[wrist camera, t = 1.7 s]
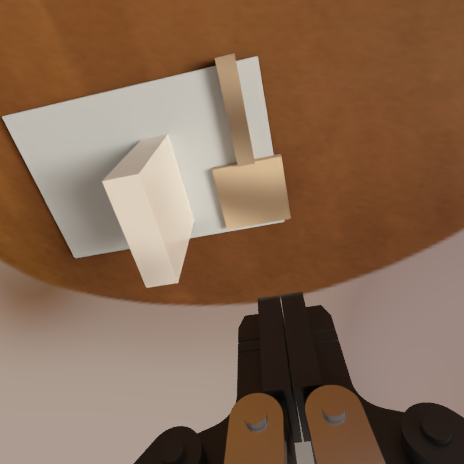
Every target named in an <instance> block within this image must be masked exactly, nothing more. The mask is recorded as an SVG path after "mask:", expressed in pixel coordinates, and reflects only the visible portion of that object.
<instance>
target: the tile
mask: <svg viewBox="0 0 464 464" xmlns="http://www.w3.org/2000/svg"><path fill="white" fill-rule="evenodd" d="M102 183H103V185H104V188H105V190H106V192H107V195H108V197H109V200H110V202H111V204H112V207H113V209H114V212H115V214H116V216H117V219H118V221H119V224H120V226H121V228H122V231H123V233H124V235H125V238H126V240H127V243H128V245H129V247H130V250H131V252H132V255H133V257H134V259H135V262H136V264H137V266H138V269H139V271H140V274H141V276H142V278H143V281H144V283H145V286H146V288H148V287H155V286H161V285H167V284H174V283H178V281H179V277H180V273H181V270H182V266H183V262H184V258H185V254H186V250H187V246H188V242H189V239H190V235H191V231H192V227H193V223H194V219H193V215H192V212H191V209H190V205H189V202H188V199H187V195H186V192H185V189H184V185H183V182H182V179H181V175H180V172H179V169H178V165H177V162H176V159H175V155H174V152H173V149H172V146H171V142H170V139H169V136H168V134H166V135H161V136H156V137H152V138H147V139H142V140H140V141H139V143H138V144H137V145H136V146H135V147H134V148H133V149H132V150H131V151H130V152H129V153H128V154H127V155H126V156H125V157H124V158H123V159H122V160H121V162H120V163H119V164H118V165H117V166H116V167H115V168H114V169H113V170H112V171H111V172H110V173H109V174H108V175H107V176H106V177H105V178H104V179H103V181H102Z"/></svg>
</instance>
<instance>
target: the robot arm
mask: <svg viewBox="0 0 464 464" xmlns="http://www.w3.org/2000/svg"><path fill="white" fill-rule="evenodd" d="M281 300H282V307H283V313H282V307H281V302H280V297H279V295H278V296H271V297H264V298H258V311H259V314H255V315H248V316H245V317H244V319H243V320H242V323H241V324H240V326H239V331H238V333H239V334H238V342H239V344H238V379H237V380H238V381H237V400H236V404H235V405H234V407H233V408H232V410H231V413H230V414H229V415H228V417H227V418H226V419H224V420H223V421H222V422H221V423H219V424H217V425H216V426H213V427H211V428H209V429H207V430H204V431H202V432H200V433H198V434H197V433H196V432H195V431H193V430H192V429H191V428H188V427H184V426H177V427H173V428H170V429H168V430H166V431H165V432H163V433H162V434H160V435H159V436H158V437H157V438H156V439H155V440H154V442H153V443H152V444H151V445H150V446H149V447H148V448H147V449H146V451H145V452H144V453H143V454H142V455H141V456H140V457H139V458H138V459H137V461H136V462H135V463H134V464H297V461H296V453H295V445H294V443H297V442H302V439H301V432H300V425H299V418H298V412H299V417H300V422H301V427H302V432H303V437H304V442H305V441H311V446H312V451H313V456H314V462H315V464H464V418H463V417H462V416H460V415H458V414H457V413H455V412H454V411H452V410H450V409H448V408H447V407H444V406H442V405H439V404H435V403H419V404H415V405H413V406H411V407H409V408H408V409H407V410H406V412H400V411H394V410H389V409H385V408H381V407H378V406H375V405H373V404H371V403H369V402H367V401H366V400H364V399H363V398H362V397H361V396H360V395H359V394H358V393H357V392H356V390H355V389H354V387H353V385H352V382H351V379H350V376H349V373H348V369H347V366H346V363H345V360H344V357H343V353H342V350H341V346H340V343H339V341H338V337H337V334H336V331H335V327H334V324H333V320H332V317H331V315H330V314H329V313H328V312H327V311H326V310H325V309H324V308H323V307H322V306H321V305H318V306H311V307H306V306H305V302H304V298H303V293H302V292H297V293H291V294H284V295H281ZM283 314H284V318H283ZM284 322H285V323H284ZM296 402H297V403H296ZM297 407H298V411H297Z"/></svg>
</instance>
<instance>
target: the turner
mask: <svg viewBox="0 0 464 464" xmlns="http://www.w3.org/2000/svg"><path fill="white" fill-rule="evenodd" d="M215 62H216V67H217V72H218V76H219V81H220V86H221V90H222V95H223V100H224V104H225V109H226V114H227V118H228V123H229V127H230V132H231V137H232V141H233V146H234V151H235V155H236V160H237V163H232V164H227V165H222V166H217V167H213V168H212V172H213V176H214V180H215V183H216V187H217V191H218V195H219V199H220V203H221V207H222V211H223V215H224V219H225V223H226V227H227V230H229V229H234V228H240V227H246V226H251V225H257V224H263V223H269V222H274V221H280V220H286V219H291V217H290V210H289V204H288V197H287V190H286V184H285V177H284V170H283V164H282V157H281V154H277V155H272V156H267V157H262V158H257V159H254V154H253V149H252V144H251V138H250V133H249V128H248V122H247V117H246V112H245V107H244V101H243V96H242V91H241V85H240V80H239V75H238V70H237V64H236V59H235V54H234V53H231V54H227V55H223V56H219V57H215Z"/></svg>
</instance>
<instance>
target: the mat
mask: <svg viewBox="0 0 464 464" xmlns="http://www.w3.org/2000/svg"><path fill="white" fill-rule="evenodd" d="M236 64H237V70H238V75H239V80H240V85H241V91H242V96H243V101H244V107H245V112H246V117H247V122H248V128H249V133H250V138H251V144H252V149H253V154H254V159H257V158H262V157H267V156H272V155H274V154H273V148H272V142H271V136H270V129H269V123H268V117H267V111H266V105H265V98H264V92H263V86H262V80H261V73H260V67H259V61H258V56H254V57H250V58H246V59H241V60H237V61H236ZM2 118H3V120H4V122H5V124H6V126H7V128H8V130H9V132H10V134H11V136H12V138H13V140H14V142H15V144H16V146H17V147H18V149H19V151H20V153H21V155H22V157H23V159H24V161H25V163H26V165H27V167H28V169H29V171H30V173H31V175H32V176H33V178H34V180H35V182H36V184H37V186H38V188H39V190H40V192H41V194H42V196H43V198H44V200H45V202H46V204H47V205H48V207H49V209H50V211H51V213H52V215H53V217H54V219H55V221H56V223H57V225H58V227H59V229H60V231H61V233H62V234H63V236H64V238H65V240H66V242H67V244H68V246H69V248H70V250H71V252H72V254H73V256H74V258H80V257H85V256H91V255H97V254H103V253H108V252H114V251H120V250H125V249H130V247H129V245H128V243H127V240H126V238H125V235H124V233H123V231H122V228H121V226H120V224H119V221H118V219H117V216H116V214H115V212H114V209H113V207H112V204H111V202H110V200H109V197H108V195H107V192H106V190H105V188H104V185H103V183H102V181H103V179H104V178H105V177H106V176H107V175H108V174H109V173H110V172H111V171H112V170H113V169H114V168H115V167H116V166H117V165H118V164H119V163H120V162H121V160H122V159H123V158H124V157H125V156H126V155H127V154H128V153H129V152H130V151H131V150H132V149H133V148H134V147H135V146H136V145H137V144H138V143H139V141H140V140H142V139H147V138H152V137H156V136H161V135H166V134H168V136H169V139H170V142H171V146H172V149H173V152H174V155H175V159H176V162H177V165H178V169H179V172H180V175H181V179H182V182H183V185H184V189H185V192H186V195H187V199H188V202H189V205H190V209H191V212H192V215H193V219H194V223H193V227H192V231H191V235H190V238H194V237H200V236H206V235H211V234H217V233H223V232H229V231H234V230H240V229H246V228H251V227H257V226H263V225H269V224H274V223H280V222H284V220H280V221H274V222H269V223H263V224H257V225H251V226H246V227H240V228H234V229H229V230H227V227H226V223H225V219H224V215H223V211H222V207H221V203H220V199H219V195H218V191H217V187H216V183H215V180H214V176H213V172H212V168H213V167H217V166H222V165H227V164H232V163H237V160H236V155H235V151H234V146H233V141H232V137H231V132H230V127H229V123H228V118H227V114H226V109H225V104H224V100H223V95H222V90H221V86H220V81H219V76H218V72H217V67H216V66H212V67H208V68H203V69H199V70H195V71H191V72H186V73H182V74H178V75H174V76H169V77H165V78H161V79H157V80H153V81H148V82H144V83H140V84H136V85H131V86H127V87H123V88H119V89H115V90H110V91H106V92H102V93H98V94H93V95H89V96H85V97H81V98H77V99H72V100H68V101H64V102H60V103H55V104H51V105H47V106H43V107H39V108H34V109H30V110H26V111H22V112H17V113H13V114H9V115H5V116H2Z"/></svg>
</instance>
